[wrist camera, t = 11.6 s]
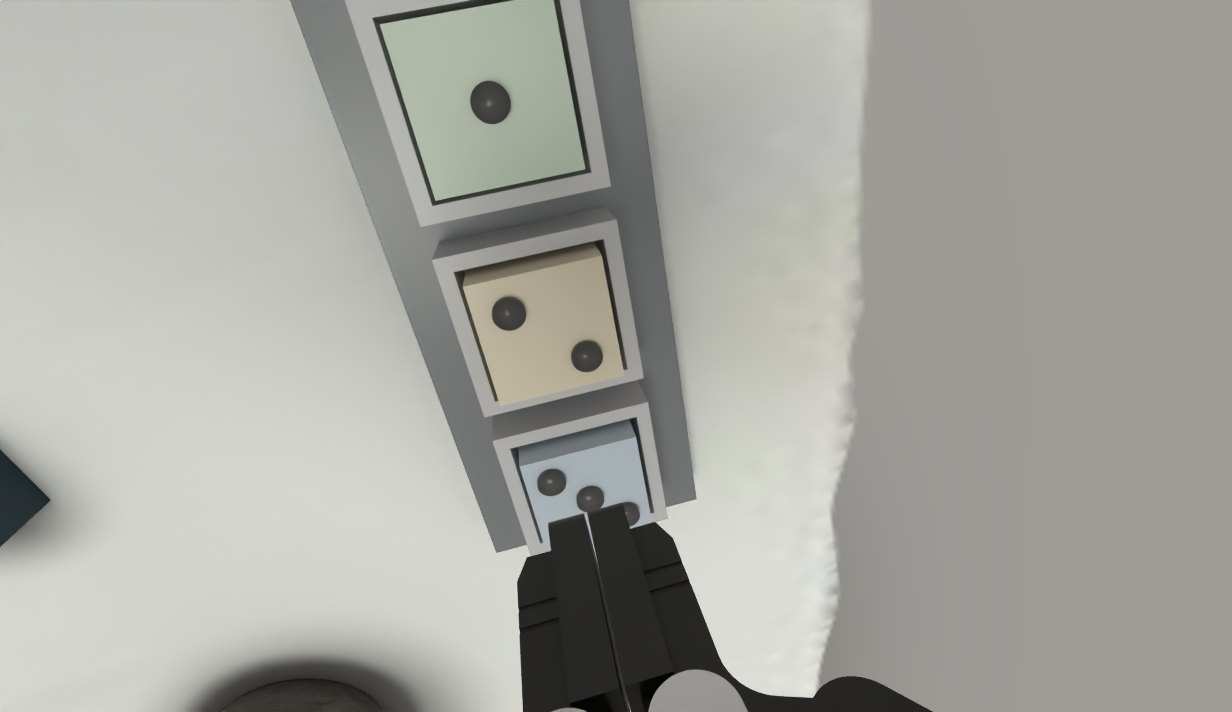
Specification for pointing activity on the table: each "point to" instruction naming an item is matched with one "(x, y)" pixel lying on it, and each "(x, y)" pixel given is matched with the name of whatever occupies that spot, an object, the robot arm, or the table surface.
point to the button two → (544, 322)
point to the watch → (16, 498)
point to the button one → (487, 95)
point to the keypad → (517, 248)
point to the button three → (585, 475)
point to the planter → (305, 698)
